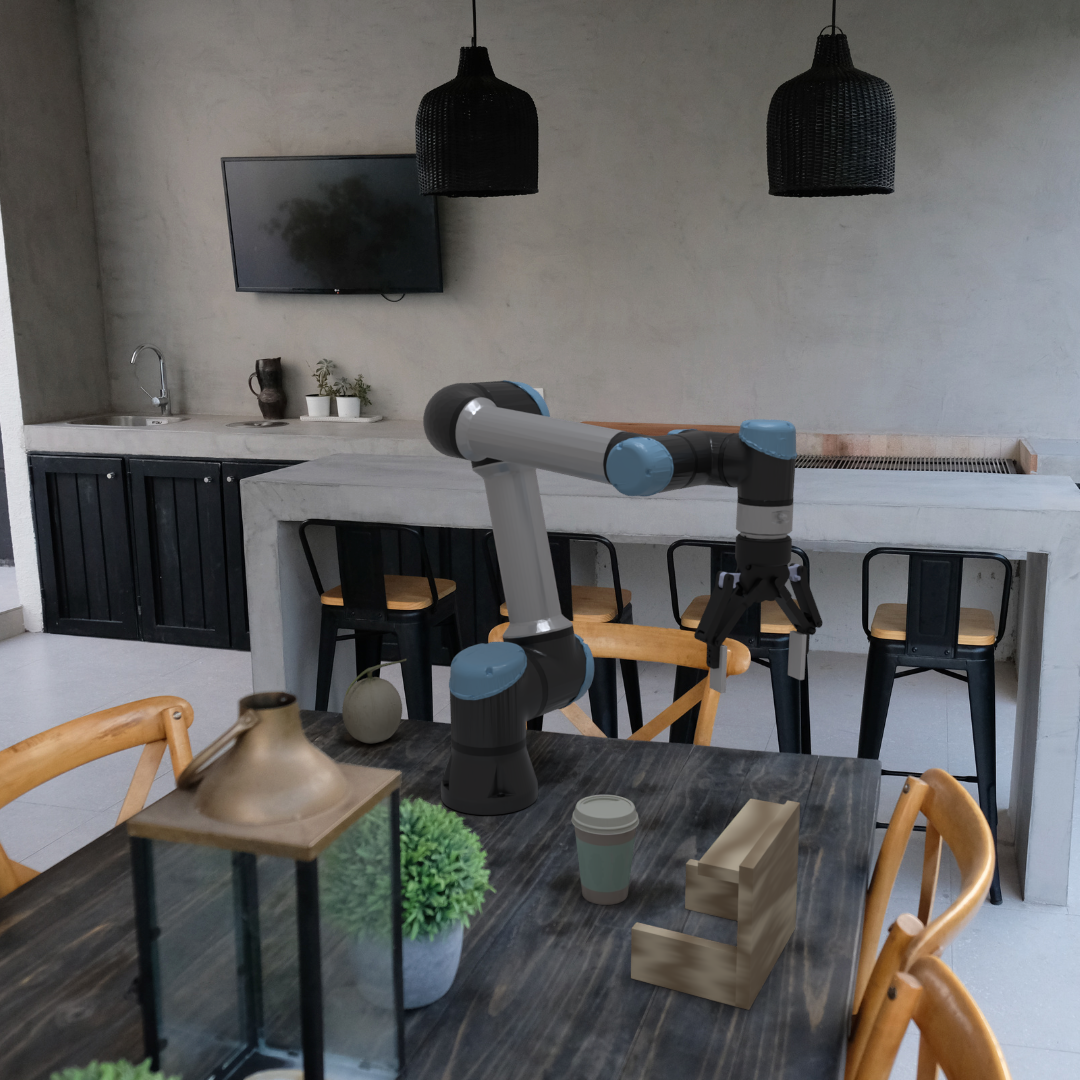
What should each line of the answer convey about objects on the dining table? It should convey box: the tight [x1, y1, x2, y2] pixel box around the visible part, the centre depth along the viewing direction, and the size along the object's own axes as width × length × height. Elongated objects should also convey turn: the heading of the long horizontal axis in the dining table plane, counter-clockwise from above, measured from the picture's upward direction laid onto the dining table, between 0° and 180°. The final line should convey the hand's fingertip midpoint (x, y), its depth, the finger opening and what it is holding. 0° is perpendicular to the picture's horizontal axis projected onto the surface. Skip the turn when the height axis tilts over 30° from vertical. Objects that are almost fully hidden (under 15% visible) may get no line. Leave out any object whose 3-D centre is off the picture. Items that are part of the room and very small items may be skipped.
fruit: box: [341, 658, 407, 744], centre depth 199 cm, size 10×12×15 cm
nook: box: [630, 798, 801, 1011], centre depth 129 cm, size 14×19×16 cm
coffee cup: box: [571, 794, 640, 906], centre depth 143 cm, size 9×8×12 cm
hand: (757, 683), depth 157 cm, fingers open, 13 cm apart
